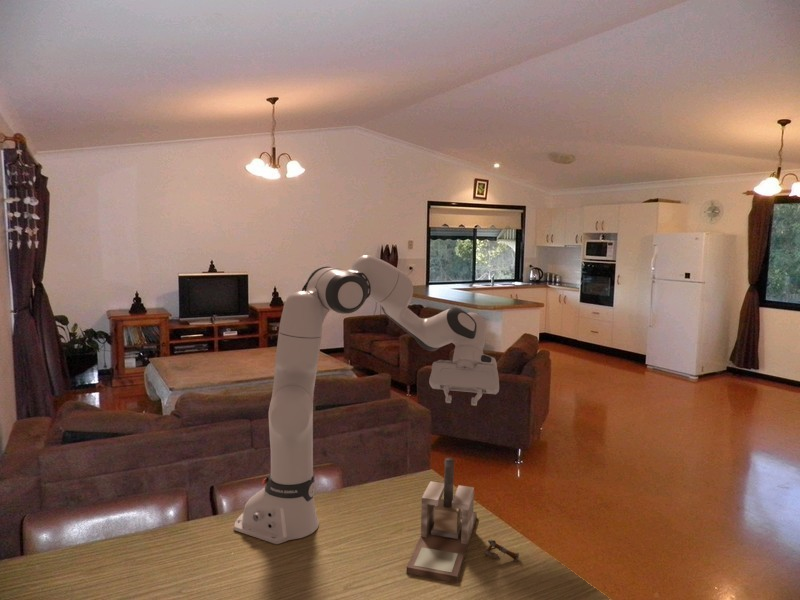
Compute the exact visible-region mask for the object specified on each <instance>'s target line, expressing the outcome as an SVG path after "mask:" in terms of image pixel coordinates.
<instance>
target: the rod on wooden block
mask: <svg viewBox="0 0 800 600" xmlns="http://www.w3.org/2000/svg"><path fill="white" fill-rule="evenodd" d="M454 473H455V459H454V458H452V457H446V458H444V476H443V478H444V479H443V483H444V493H443V499H442V498H441V499H440V502H439V504H438V506H436V505H435V506H436V507H435V510H434V526H433V528H432V530H431V535H437V536H443V537H449V538H455V539H458V537H459V534H460V531H461V528H462V520H461V510H462V509H456V508H452V500H453V498H454V482H455V481H454V478H455V477H454V475H455V474H454Z"/></svg>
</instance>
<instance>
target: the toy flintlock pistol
mask: <svg viewBox="0 0 800 600" xmlns="http://www.w3.org/2000/svg"><path fill="white" fill-rule="evenodd" d="M487 542H488V544H489V547H488V549H486V551H485V553H484V556H486V557H487V556H488V555H491V558H494V559H495V560H497V559H500V555H499V554H498V553H495V552H492V550H496V549H497V550H498V551H499V552H500V553H502V554H504V555H505V554H506V555H507V556H509V557H510V558H511V559H513V560H514V562H515V563H517V561H518V559H519V558H520V552H513V551H511V550H509V549H507V548H505V547H504V546H502V545H500V544H498V543H497V542H496V540H495V539H494V540H493V539H488V540H487Z"/></svg>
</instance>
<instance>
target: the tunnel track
mask: <svg viewBox="0 0 800 600" xmlns="http://www.w3.org/2000/svg"><path fill="white" fill-rule="evenodd" d="M443 496H444V482H437V481H431V480H430V482H429V483H428V485H427V487H426V489H425V490H424V492H423V494H422V497H421V509H420V511H421V513H420V515H421V516H420V517H421V518H420V538H419V539H418V542H417V544H416V546H415V548H414V550H413V553H412V555H411V557H410V559H409V561H408V564H407V565H406V572H405V573H406V574H408V575H409V574H410V575H414V576H415V575H416V576H421V577H424V578H431V579H436V580H440V581H441V580H442V581H447V582H452V583H456V584H457V583H458V580H459V578H460V574H461V571H462V567H463V564H464V560H465V557H466V554H467V552H468V551H467V550H468V547H469V543H470V541H471V540H470V539H471V536H472V534H473V531H474V527H475V523H476V521H477V517H478V516H477V513H478V512H475V511H474V502H475V500H474V499H475V487H473V486H467V485H461V484H460V485H459V484H458V486H457V489H456V491H455V493H454V495H453V500H452V508H456V509H461V520H462V528H461V531H460V534H459V537H458V539H455V538H449V537H443V536H437V535H431V530H432V528H433V526H434V510H435V507H436V506H438V504H439V502H440V499H442V497H443Z"/></svg>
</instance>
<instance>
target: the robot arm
mask: <svg viewBox="0 0 800 600" xmlns="http://www.w3.org/2000/svg"><path fill="white" fill-rule="evenodd" d="M413 296H414V284H413V281H412V279H411V278H410V277H409V275H407V274H406V273H405V272H404V271H402V270H401V269H399V268H397V267H396V266H394V265H392V264H391V263H389V262H387V261H385V260H383V259H380V258H378V257H377V256H374V255H370V254H364V255H361V256H359V257H357V258H356V259H355V260H354V261H353V263H352V264H351V267H350V268H348V269H347V270H345V269H342V268H339V267H331V266H322V267H318V268H317V269H315V270H313V271H312V272H311V274H310V275H309V277H308V279H307V281H306V283H305V284H304V285H303V286H302V289H301V290H300V291H295V292H292V293H291V294H289V295H288V296H287V298H286V300H285V303H284V305H283V309H282V312H281V317H280V321H279V328H278V334H277V335H278V336H277V342H276V345H277V346H276V351H275V360H274V361H275V362H274V372H273V373H274V375H273V384H272V394H271V399H270V403H269V408H268V431H269V444H270V445H269V446H270V448H269V449H270V472H269V473H268V474H267V475H266V476H265V478H264V479H263V480H262V481H261V483H262V484H261V486H264V485H265V486H264V487H263V488H261V489H260V490H259V491H257V492H256V493H255V494H254V495H252V496H251V497H250V498H249V499H248V500H247V502H246V503H245V505H244V509H243V512H242V513H241V514H240V515H239V516H238V517H237V519H235V522H234V526H233V530H234V531H236V532H239V533H242V534H245V535H247V536H251V537H254V538H257V539H259V540H263V541H266V542H269V543H272V544H273V545H279V544H282V543H284V542H287V541H291V540H298V539H302V538H305V537H308V536H310V535H312V534H313V533H314V532H315V531H317V530H318V528H319V525H320V521H319V519H318V516H317V512H316V506H315V505H316V504H315V497H314V496H315V489H316V486H315V473H314V468H313V467H314V450H313V449H314V439H313V437H314V432H313V431H314V427H313V426H314V421H313V419H314V394H315V386H316V385H315V384H316V378H317V371H318V367H319V359H320V351H321V342H322V335H323V323H324V320H325V319H326V316H327V315H328V314H329V312H330V311H333V312H335V313H338V314H343V315H345V314H352V313H355V312H357V311H358V310H359V309H361V307H362V306H363V305H364V304H365V302H366V301H367V299H368V298H369V299H371V300H373V301H374V302H375V303H377V304H378V305H379V306H381V310H382V312H383V313H384V314H385V316H386V317H387V318H388V319H389V320H391V321H392V322H393V323H394V324H396V325H397V326H398V327H399V328H401V329H402V330H403V331H404V332H405V333H407V334H408V335H409V336H410V337H412V338H413V339H414V340H415V342H416V343H417V344H418V345H419V346H420V347H421V348H422V349H424V350H425V351H428V352H435V351H437V350H439V349H441V348H443V347H444V346H446V345H449V344H451V343H452V344H453V345H454V346H455V347H454V351H453V355H452V360H449V359H447V360H444V359H438V360H435V361H434V362H432V364H431V372H430V376H429V379H428V382H429V386H430V387H431V388H432V390H433V389H434V390H443V393H444V395H445V399H444V400H445V403H446V404H451V403H452V399H453V398H452V395H450V394H449V393H450V391H452V392H453V391H454V392H455V391H456V392H465V393H466V392H467V393H475V394H476V395H475V396H473V397H471V401H470V405H471V406H475V407H477V405H478V401H479V400H480V399H481V398H482V396H483V394H488V395H497V394H498V393H499V391H500V378H499V371H498V362H497V360H496V358H495V357H493V356H490V355H488V354H485V353H484V348H485V345H486V340H487V339H486V338H487V325H486V321H485V319H484V317H483V316H481V315H480V314H478V313H476V312H473V311H471V312H470V311H469V312H466V311H465V310H463V309H462V308H459V307H455V306H454V307H450V308H448V309H446V310H443V311H441V312H439V313H438V314H435V315H433V316H430V317H427V318H425V317H424V318H422V317H419V316H418V315H417V314H416V313H414V312H413V311H412V310H411V309H410V308H409V305H410V303H411V301H412V299H413Z"/></svg>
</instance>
